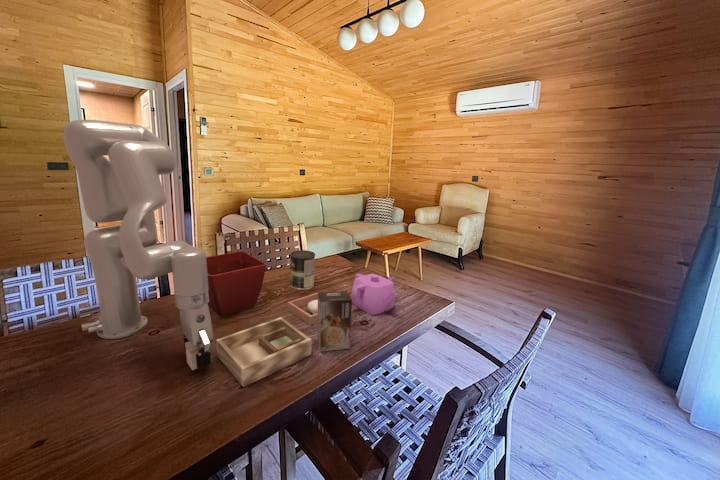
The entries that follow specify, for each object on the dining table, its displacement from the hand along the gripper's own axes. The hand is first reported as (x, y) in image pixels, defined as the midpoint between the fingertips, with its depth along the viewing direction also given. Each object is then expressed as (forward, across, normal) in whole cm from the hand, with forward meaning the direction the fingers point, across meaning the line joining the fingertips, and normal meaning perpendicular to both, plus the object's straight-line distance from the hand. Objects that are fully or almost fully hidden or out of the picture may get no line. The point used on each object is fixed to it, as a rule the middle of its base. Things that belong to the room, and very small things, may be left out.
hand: (197, 357), depth 84 cm
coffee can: (+2, +26, -51) cm, 57 cm away
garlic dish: (+2, +4, -41) cm, 41 cm away
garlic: (+2, +4, -43) cm, 43 cm away
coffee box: (+2, -16, -33) cm, 37 cm away
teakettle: (+2, -6, -62) cm, 62 cm away
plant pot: (+2, +26, -20) cm, 33 cm away
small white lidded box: (+2, 0, 0) cm, 2 cm away
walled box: (+2, -8, -15) cm, 17 cm away
